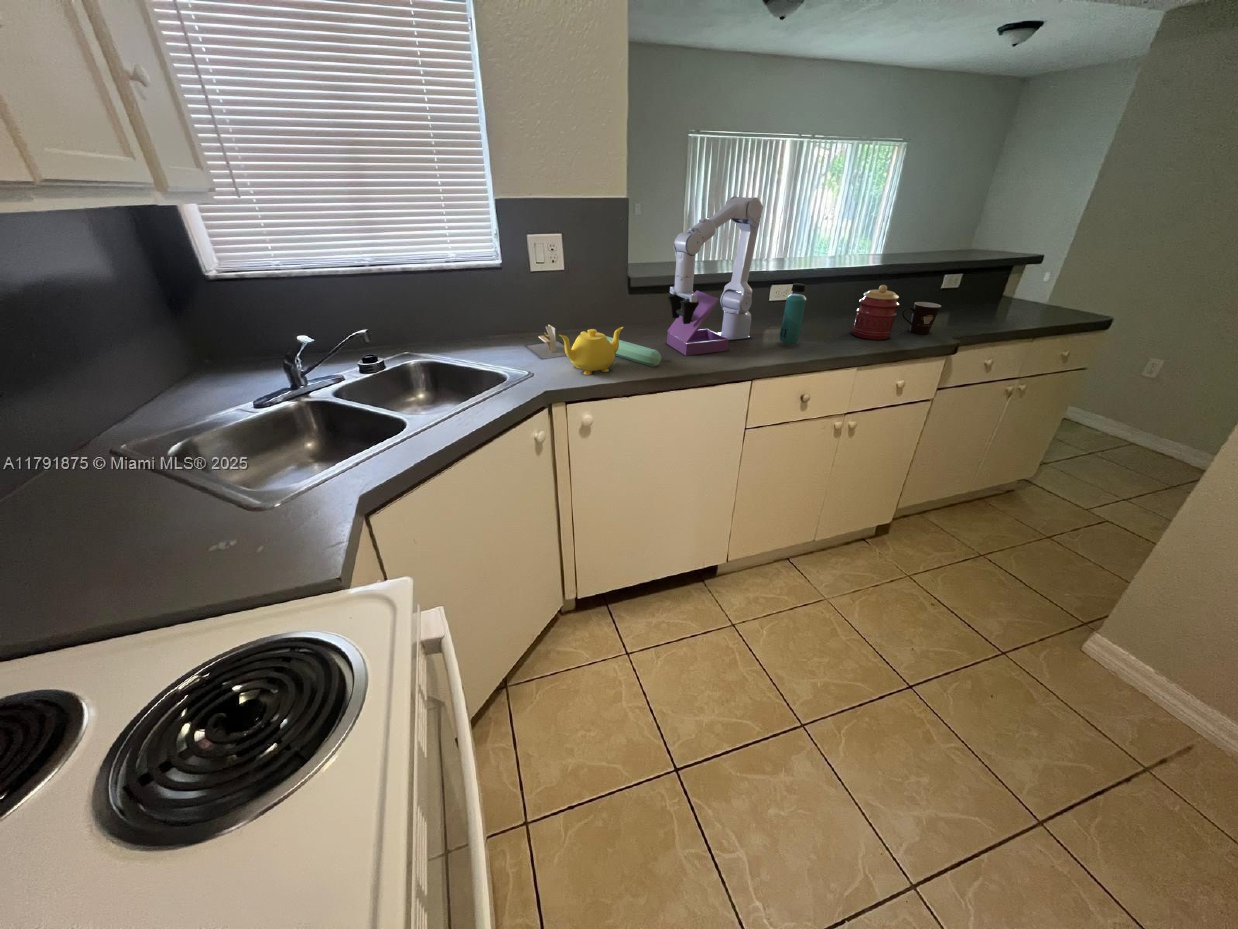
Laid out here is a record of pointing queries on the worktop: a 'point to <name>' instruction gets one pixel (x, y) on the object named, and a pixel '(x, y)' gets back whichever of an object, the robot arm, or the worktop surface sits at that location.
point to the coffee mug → (922, 317)
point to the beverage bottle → (793, 315)
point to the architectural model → (548, 345)
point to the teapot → (592, 350)
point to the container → (637, 353)
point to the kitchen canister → (876, 314)
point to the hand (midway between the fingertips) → (681, 320)
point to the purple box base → (699, 343)
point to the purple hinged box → (693, 317)
